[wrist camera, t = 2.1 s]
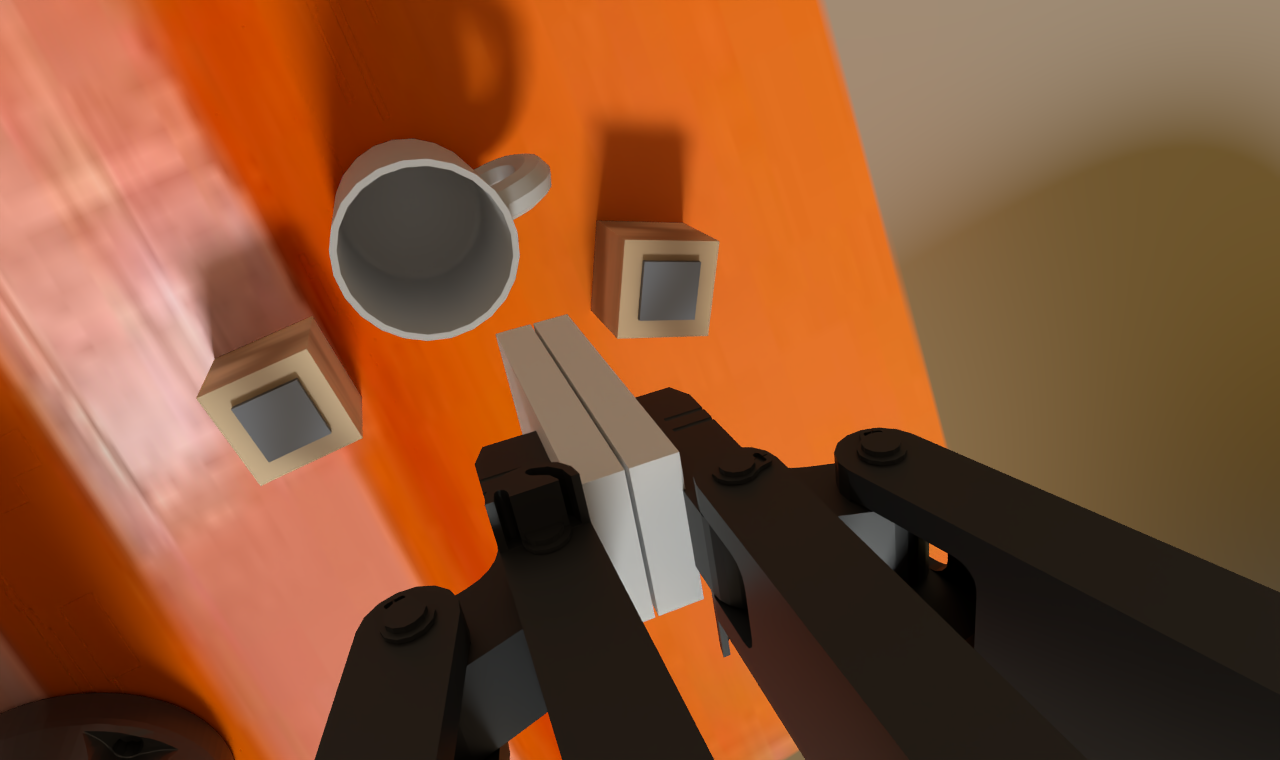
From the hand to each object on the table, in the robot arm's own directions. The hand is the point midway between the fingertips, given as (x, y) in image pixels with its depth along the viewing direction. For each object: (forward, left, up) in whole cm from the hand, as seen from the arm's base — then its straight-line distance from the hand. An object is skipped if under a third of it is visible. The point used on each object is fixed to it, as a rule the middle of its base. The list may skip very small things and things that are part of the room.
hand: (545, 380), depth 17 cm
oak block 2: (+9, -6, -24) cm, 27 cm away
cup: (0, 0, -25) cm, 25 cm away
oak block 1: (-10, -7, -24) cm, 27 cm away
